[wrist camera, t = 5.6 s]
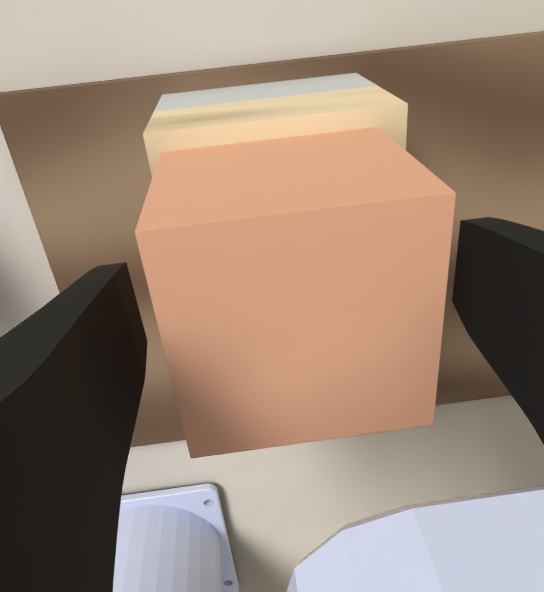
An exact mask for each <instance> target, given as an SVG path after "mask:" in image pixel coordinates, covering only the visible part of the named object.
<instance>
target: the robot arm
mask: <svg viewBox="0 0 544 592" xmlns="http://www.w3.org/2000/svg"><path fill="white" fill-rule="evenodd" d="M452 302H453V304H454V306H455V309H456V311H457V313H458V315H459V317H460V319H461V321H462V323H463V325H464V327H465V329H466V331H467V333H468V335H469V336H470V338H471V339H472V341H473V342H474V344H475V345H476V346H477V348H478V349H479V351H480V352H481V354H482V355H483V356H484V358H485V359H486V361H487V362H488V363H489V365H490V366H491V368H492V369H493V370H494V372H495V373H496V374H497V376H498V377H499V379H500V380H501V381H502V383H503V384H504V385H505V387H506V388H507V390H508V391H509V392H510V394H511V395H512V396H513V398H514V399H515V401H516V402H517V403H518V405H519V406H520V407H521V409H522V410H523V412H524V413H525V415H526V416H527V418H528V419H529V421H530V422H531V424H532V425H533V427H534V428H535V430H536V432H537V434H538V435H539V437H540V439H541V441H542V443H543V444H544V231H542V230H539V229H536V228H532V227H529V226H526V225H522V224H519V223H515V222H511V221H508V220H503V219H499V218H492V217H484V218H476V219H468V220H460V229H459V239H458V248H457V258H456V267H455V277H454V287H453V296H452ZM146 359H147V337H146V333H145V330H144V326H143V322H142V319H141V315H140V311H139V307H138V304H137V300H136V296H135V292H134V289H133V285H132V281H131V277H130V274H129V270H128V266H127V263H126V262H124V263H116V264H108V265H100V266H96V267H95V268H93V269H91V270H90V271H88V272H87V273H86V274H84V275H83V276H82V277H80V278H79V279H78V280H76V281H75V282H74V283H73V284H71V285H70V286H69V287H67V288H66V289H65V290H64V291H62V292H61V293H60V294H59V295H57V296H56V297H55V298H54V299H52V300H51V301H50V302H48V303H47V304H46V305H45V306H43V307H42V308H41V309H40V310H38V311H37V312H35V313H34V314H33V315H31V316H30V317H28V318H27V319H26V320H24V321H23V322H21V323H20V324H19V325H17V326H16V327H15V328H13V329H12V330H10V331H9V332H8V333H6V334H5V335H3V336H2V337H0V592H239V584H238V580H237V575H236V570H235V566H234V561H233V557H232V552H231V548H230V543H229V539H228V534H227V530H226V525H225V521H224V516H223V512H222V507H221V503H220V498H219V494H218V489H217V487H216V486H214V485H212V484H201V485H194V486H186V487H179V488H172V489H165V490H158V491H151V492H144V493H137V494H130V495H123V496H121V494H122V486H123V480H124V474H125V468H126V463H127V459H128V454H129V450H130V445H131V441H132V437H133V432H134V428H135V423H136V419H137V414H138V410H139V405H140V400H141V396H142V391H143V386H144V381H145V373H146ZM287 592H544V486H538V487H531V488H524V489H517V490H510V491H503V492H496V493H490V494H483V495H476V496H469V497H462V498H455V499H448V500H441V501H434V502H427V503H420V504H413V505H407V506H403V507H400V508H397V509H394V510H391V511H388V512H384V513H381V514H378V515H375V516H372V517H369V518H365V519H362V520H359V521H356V522H353V523H350V524H346V525H345V526H344V527H342V528H341V529H340V530H338V531H337V532H336V533H335V534H333V535H332V536H331V537H330V538H328V539H327V540H326V541H325V542H323V543H322V544H321V545H319V546H318V547H317V548H316V549H314V550H313V551H312V552H311V553H309V554H308V555H307V556H306V557H304V558H303V559H302V560H301V561H300V563H299V564H298V565H297V566H296V567H295V568H294V570H293V574H292V577H291V580H290V583H289V586H288V589H287Z"/></svg>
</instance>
